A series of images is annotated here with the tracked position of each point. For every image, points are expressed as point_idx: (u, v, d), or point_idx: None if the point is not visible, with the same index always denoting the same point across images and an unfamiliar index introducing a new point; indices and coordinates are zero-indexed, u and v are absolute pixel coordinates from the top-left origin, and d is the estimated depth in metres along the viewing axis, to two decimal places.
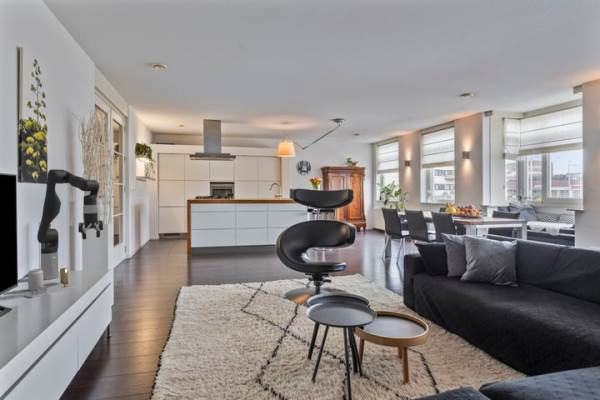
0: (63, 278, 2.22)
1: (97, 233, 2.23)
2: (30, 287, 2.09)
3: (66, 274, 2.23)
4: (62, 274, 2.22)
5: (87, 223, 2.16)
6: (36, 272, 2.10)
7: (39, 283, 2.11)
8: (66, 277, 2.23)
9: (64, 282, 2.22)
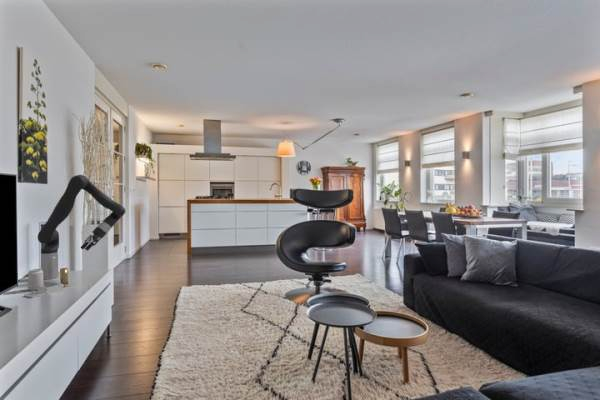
0: (63, 278, 2.22)
1: (84, 245, 2.36)
2: (30, 287, 2.09)
3: (66, 274, 2.23)
4: (62, 274, 2.22)
5: None
6: (36, 272, 2.10)
7: (39, 283, 2.11)
8: (66, 277, 2.23)
9: (64, 282, 2.22)
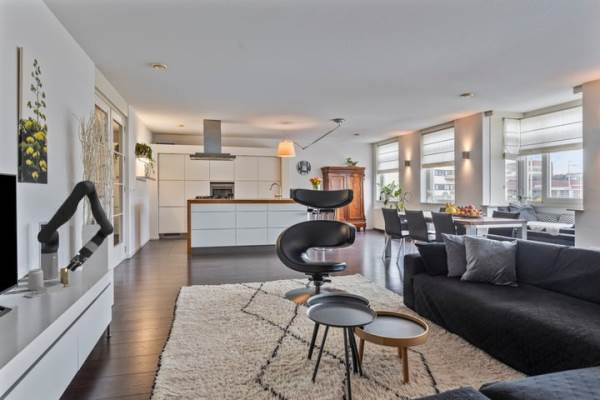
0: (63, 278, 2.22)
1: (70, 265, 2.30)
2: (30, 287, 2.09)
3: (66, 274, 2.23)
4: (62, 274, 2.22)
5: None
6: (36, 272, 2.10)
7: (39, 283, 2.11)
8: (66, 277, 2.23)
9: (64, 282, 2.22)
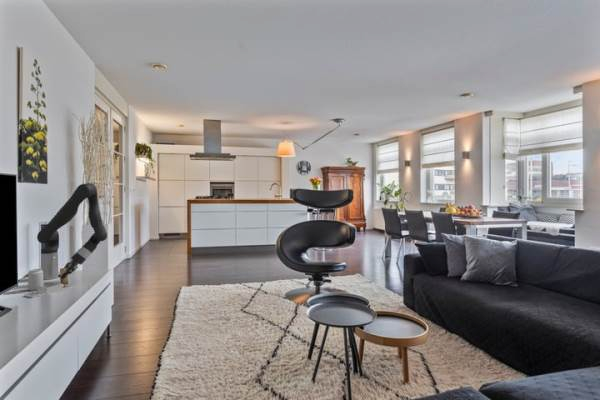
0: None
1: None
2: (30, 287, 2.09)
3: None
4: (62, 274, 2.22)
5: None
6: (36, 272, 2.10)
7: (39, 283, 2.11)
8: (66, 277, 2.23)
9: (64, 282, 2.22)
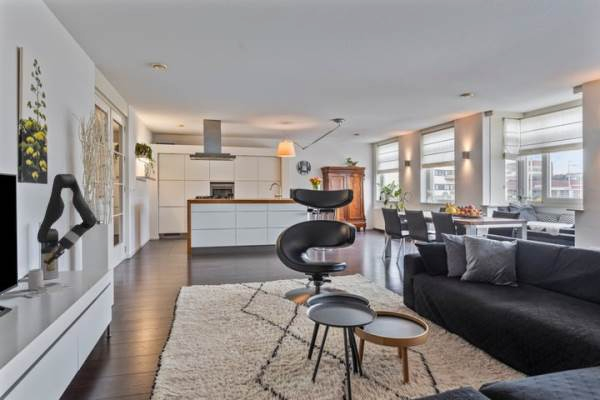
0: None
1: None
2: (30, 287, 2.09)
3: None
4: (48, 259, 2.06)
5: None
6: (36, 272, 2.10)
7: (39, 283, 2.11)
8: (52, 262, 2.07)
9: (50, 268, 2.06)
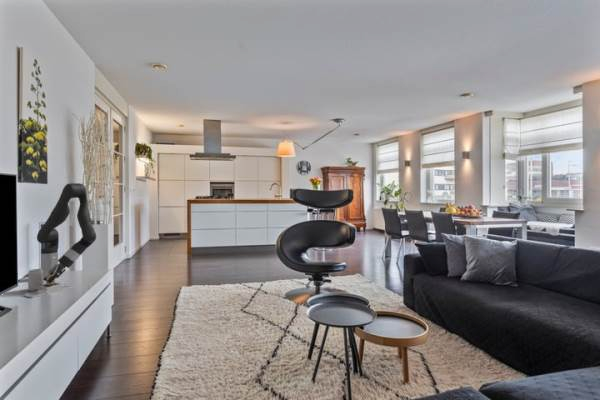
0: (50, 285, 2.06)
1: None
2: (30, 287, 2.09)
3: (53, 280, 2.08)
4: None
5: None
6: (36, 272, 2.10)
7: (39, 283, 2.11)
8: (53, 284, 2.08)
9: None
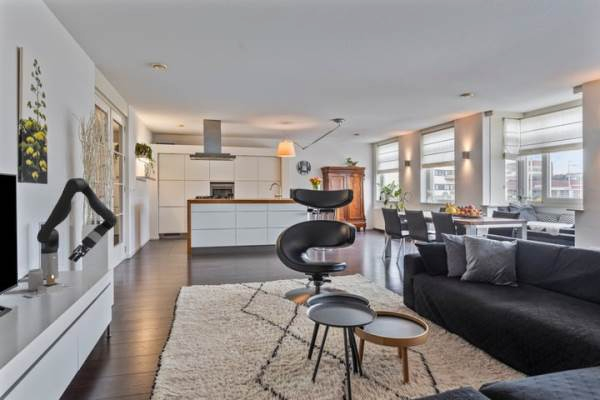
0: (49, 285, 2.06)
1: (73, 256, 2.20)
2: (30, 287, 2.09)
3: (53, 280, 2.08)
4: (48, 280, 2.06)
5: None
6: (36, 272, 2.10)
7: (39, 283, 2.11)
8: (53, 284, 2.08)
9: None
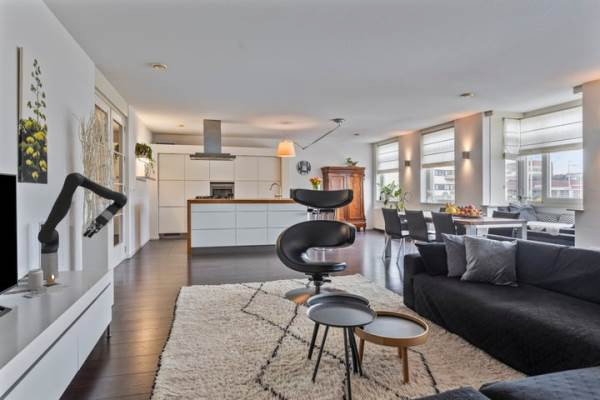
0: (49, 285, 2.06)
1: (87, 233, 2.36)
2: (30, 287, 2.09)
3: (53, 280, 2.08)
4: (48, 280, 2.06)
5: None
6: (36, 272, 2.10)
7: (39, 283, 2.11)
8: (53, 284, 2.08)
9: None
